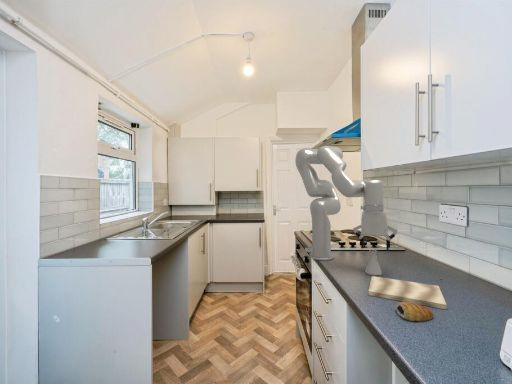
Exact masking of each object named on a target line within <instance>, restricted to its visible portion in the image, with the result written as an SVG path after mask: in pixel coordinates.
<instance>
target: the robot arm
mask: <svg viewBox="0 0 512 384" xmlns="http://www.w3.org/2000/svg"><path fill="white" fill-rule="evenodd" d="M343 157H344V153H343V150H342V149H341V148H340V147H338V146H335V145H333V146H332V145H323V146H320V147H319V148H310V147H309V148H307V147H306V148H301V149H299V150H298V151H297V153H296V156H295V159H294V160H295V162H294V163H295V166H296V169H297V172H298V173H299V175H300V177H301V180H302V183H303V186H304V188H305V191H306V193H307V195H308V197H311V198H315V199H313V200H312V201H311V202H310V204H309V211H310V215H311V237H312V239H311V242H312V243H311V244H312V245H311V247H305V248H304V251H305V253H309V255H308V256H309V258H310V259H312V260H316V261H331V260H334V258H335V257H334V254H332V251H331V250H332V249H331V248H332V247H331V246H332V244H331V243H332V240H331V233H332V232H331V229H332V228H331V221H330V218H329V216H334V215H337V214H338V213H339V212H340V211H341V201H340V200H339V195H338V194H337V192H336V190H337V191H338V192H339V193H340V194H341V196H343V197H345V198H363V205H360V210H363V212H362V213H361V223H360V225H357V226H355V227H353V228H352V231H353V232H354V234H355V236H356V237H358V239H359V246H360V247H361V249H365V238H364V236H370V237H371V236H372V237H384V238H385V239H386V241H385V247H386V251H389V250H390V249H391V240H392V239H394V238H395V236H396V235H397V233H398V230H397V229H396V228H394V227H392V226H390V225H388V218H387V213H386V212H385V210H384V209H385V208H384V183H383V181H382V180H379V179H373V180H372V179H371V180H370V179H369V180H350V178H349V177H347V175H346V174H345V173H344V171H345V170H346V169H347V162H346V161H345V160H344V159H343ZM312 165H323V166H324V167H325V168H326V169H327V171H328V172H329V173H330V174H331V181H332V182H331V181H329V180H326V179H320V178H319V176H318V174H317V172H316V170H315V168H314V167H313V166H312ZM359 229H361V230H360V233H359V232H358V230H359ZM389 231H391V232H392V234H390V235H389V234H388V233H389Z"/></svg>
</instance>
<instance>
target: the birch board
mask: <svg viewBox="0 0 512 384" xmlns="http://www.w3.org/2000/svg"><path fill="white" fill-rule="evenodd" d="M368 296H371V297H376V298H381V299H388V300H392V301H399V302H412V303H415V304H418V305H421V306H425V307H431V308H436V309H437V308H438V309H442V310H446V311H447V307H448V305H447V303H446V299H445V297H444V295H443V293H442V291H441V289H440V286H439V285H435V284H429V283H420V282H414V281H408V280H402V279H393V278H388V277H382V276H373V275H371V279H370V283H369V287H368Z"/></svg>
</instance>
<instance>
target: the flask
mask: <svg viewBox="0 0 512 384" xmlns="http://www.w3.org/2000/svg"><path fill="white" fill-rule="evenodd" d="M368 251H369V259H368V262H367V265H366V267H365V270H364V273H365V274H366V275H368V276H375V277H382V276H383V272H382V269H381V266H380V263H379V261H378V255H377V253H378V250H376V249H368Z"/></svg>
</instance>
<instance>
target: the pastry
mask: <svg viewBox="0 0 512 384" xmlns="http://www.w3.org/2000/svg"><path fill="white" fill-rule="evenodd" d="M395 311H396V313H397V314H398V315H399V316H400V317H401V318H403V319H404V320H407V321H410V322H414V321H416V322H424V321H430V320H432V319H434V312H433V311H432V309H431V308H429V307H428V306H424V305H419V304H415V303H412V302H403V301H400V302H397V304H396V305H395Z"/></svg>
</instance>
